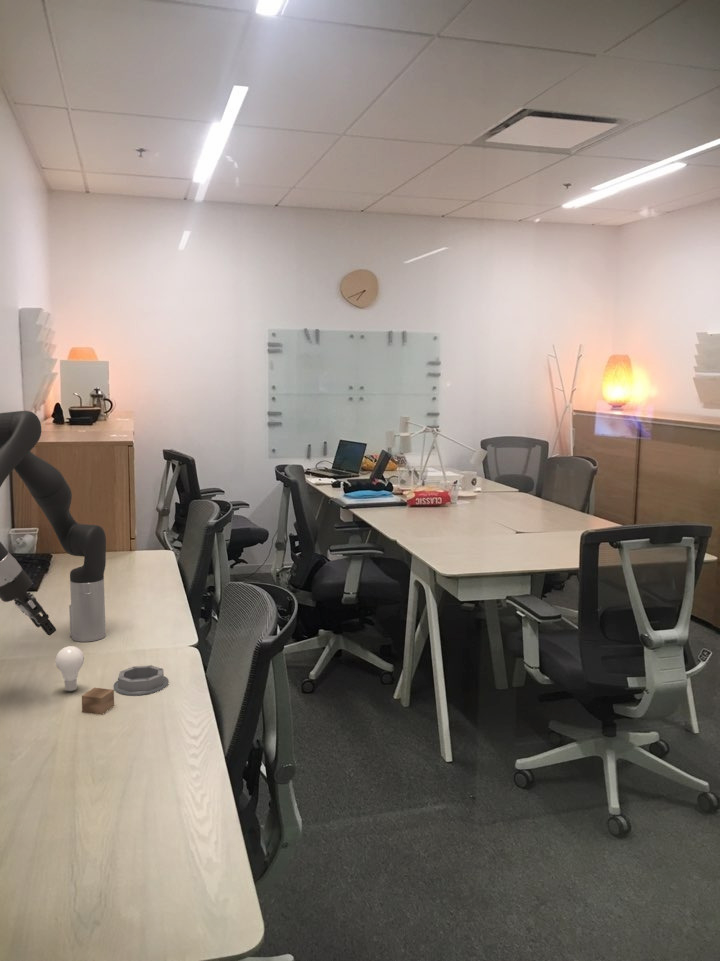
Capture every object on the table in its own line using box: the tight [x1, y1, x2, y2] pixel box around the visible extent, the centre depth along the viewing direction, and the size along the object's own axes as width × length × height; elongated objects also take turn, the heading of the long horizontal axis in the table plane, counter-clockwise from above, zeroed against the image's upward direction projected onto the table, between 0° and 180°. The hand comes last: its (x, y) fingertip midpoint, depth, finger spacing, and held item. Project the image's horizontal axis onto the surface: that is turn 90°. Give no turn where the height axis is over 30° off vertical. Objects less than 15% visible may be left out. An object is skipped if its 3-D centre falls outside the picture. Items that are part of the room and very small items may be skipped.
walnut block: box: [81, 687, 115, 716], centre depth 175 cm, size 5×5×4 cm
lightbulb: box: [55, 645, 85, 692], centre depth 184 cm, size 6×6×11 cm
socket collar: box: [113, 664, 170, 697], centre depth 189 cm, size 13×13×3 cm
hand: (47, 628), depth 182 cm, fingers open, 8 cm apart
